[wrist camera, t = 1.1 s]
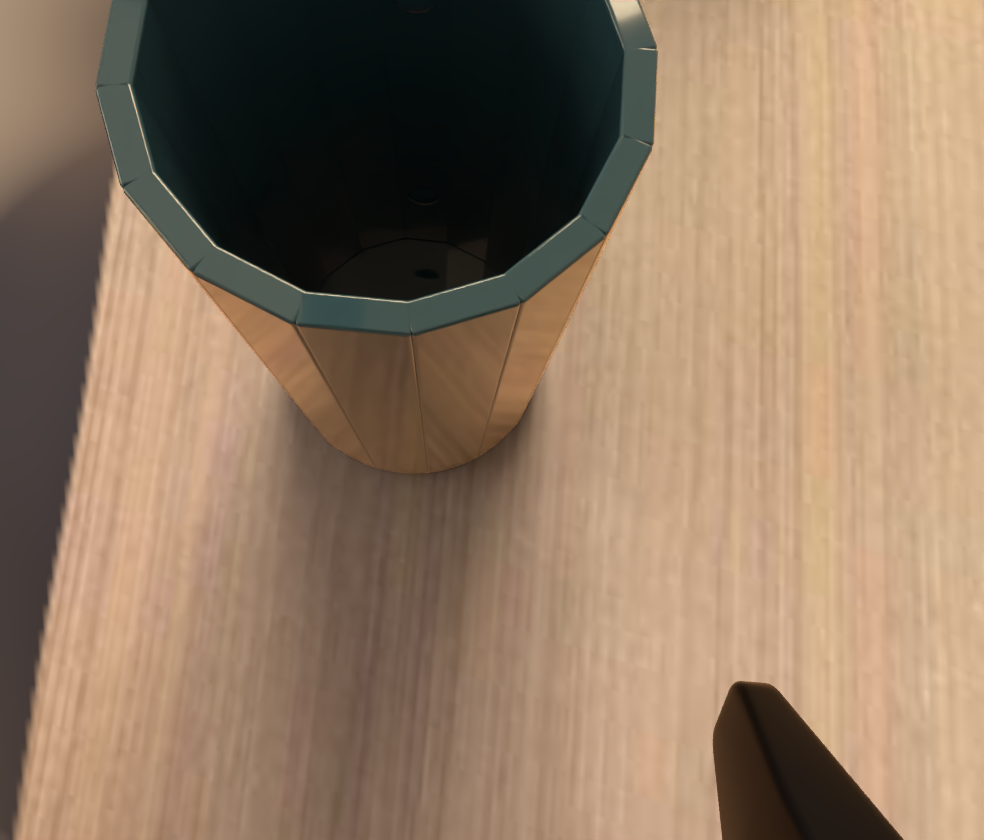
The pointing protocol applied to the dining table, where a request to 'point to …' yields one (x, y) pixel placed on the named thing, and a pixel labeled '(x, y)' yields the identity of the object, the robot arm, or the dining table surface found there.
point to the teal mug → (386, 191)
